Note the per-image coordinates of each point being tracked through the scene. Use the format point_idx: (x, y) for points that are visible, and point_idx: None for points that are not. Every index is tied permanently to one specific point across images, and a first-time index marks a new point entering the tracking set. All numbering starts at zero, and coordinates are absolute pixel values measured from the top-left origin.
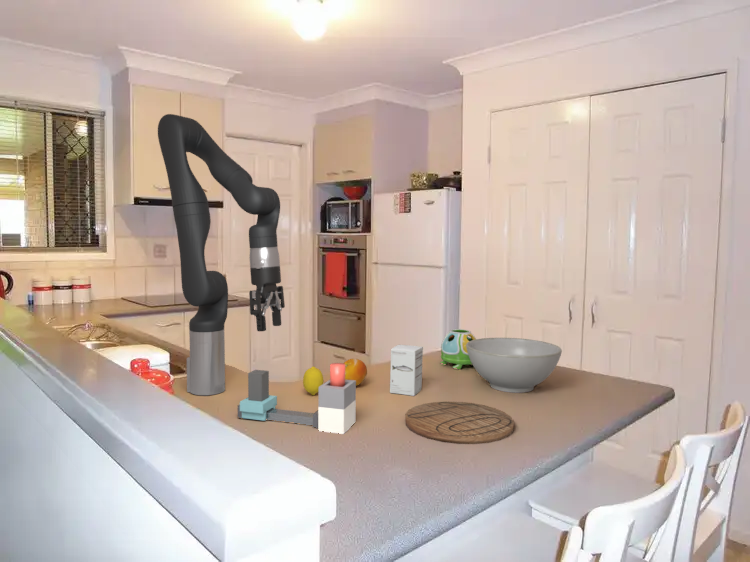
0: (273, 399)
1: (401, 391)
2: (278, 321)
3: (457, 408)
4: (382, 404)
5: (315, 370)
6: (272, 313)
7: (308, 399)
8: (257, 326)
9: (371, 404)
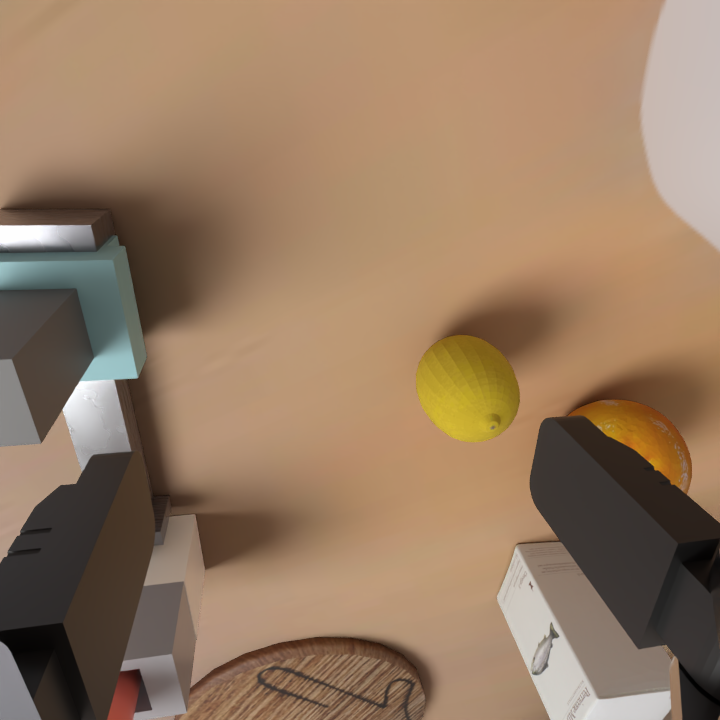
0: (101, 377)
1: (510, 578)
2: (557, 515)
3: (371, 711)
4: (399, 564)
5: (467, 435)
6: (659, 532)
7: (386, 360)
8: (29, 528)
9: (390, 543)
